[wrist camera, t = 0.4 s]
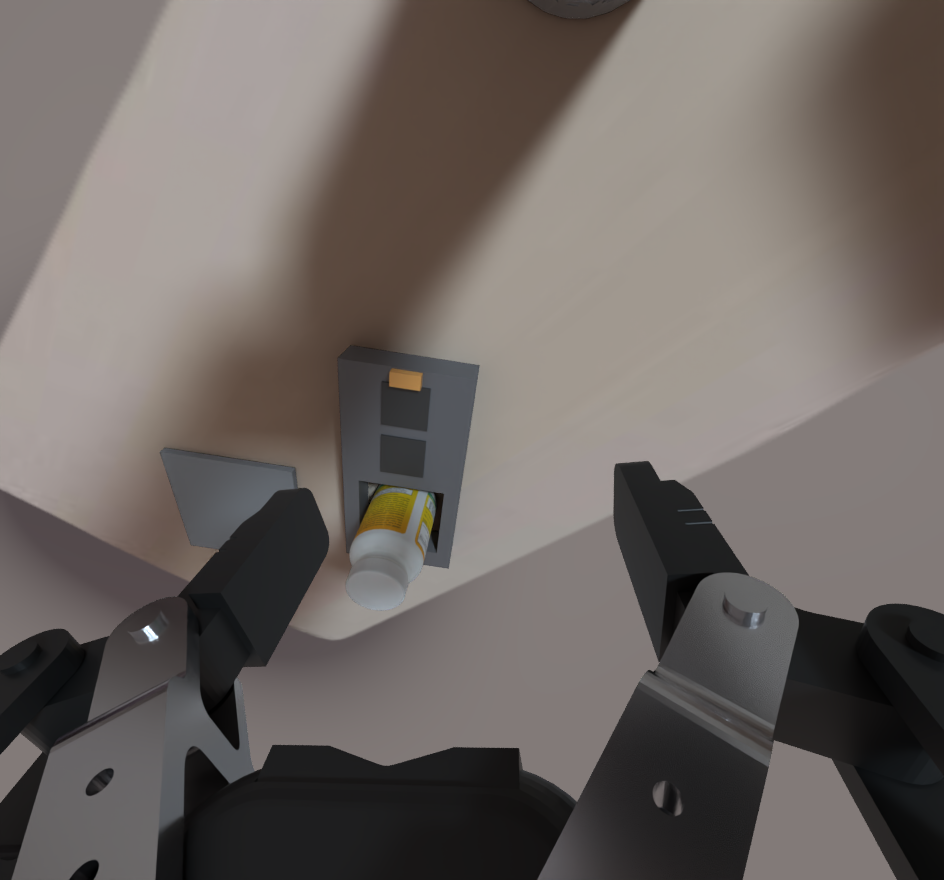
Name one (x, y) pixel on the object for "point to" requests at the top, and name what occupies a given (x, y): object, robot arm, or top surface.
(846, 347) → the top surface
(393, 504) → the supplement bottle
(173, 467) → the charging mat
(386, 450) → the gray slotted block
